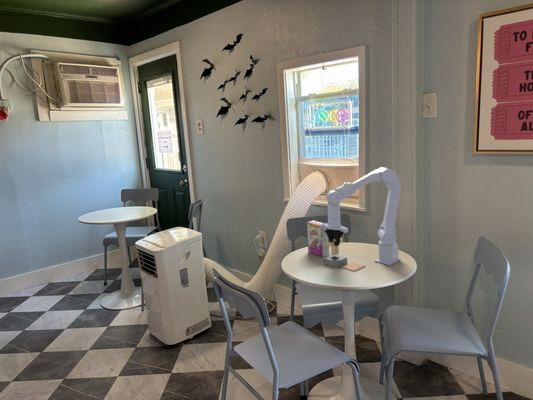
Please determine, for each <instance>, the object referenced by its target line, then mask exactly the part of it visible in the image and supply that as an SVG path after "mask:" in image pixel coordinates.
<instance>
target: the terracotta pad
mask: <svg viewBox="0 0 533 400" xmlns="http://www.w3.org/2000/svg"><path fill="white" fill-rule="evenodd" d="M365 267H366V265H364V264H361V263H357V262H353V261H351V262H350V263H347V264H345V265H343V266H341V269H345V270H347V271H350V272H353V273H355V272H357V271H359V270H361V269H363V268H365Z"/></svg>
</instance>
